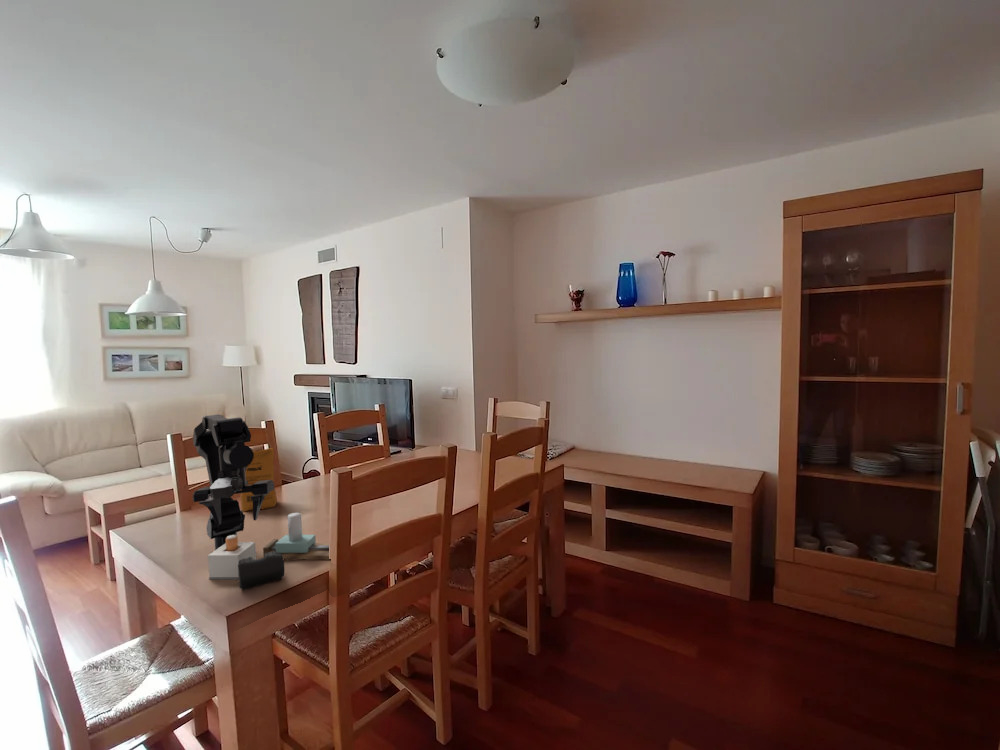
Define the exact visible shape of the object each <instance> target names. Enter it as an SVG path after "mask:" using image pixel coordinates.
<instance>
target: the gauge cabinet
mask: <svg viewBox="0 0 1000 750" xmlns="http://www.w3.org/2000/svg"><path fill="white" fill-rule="evenodd" d="M256 547H257V546H256V542H255V541H238V549H237V550H235V551H226V543H225V544H224V545H222V546H221V547H219V548H218V549H216V550H215V549H214V550H213V552H212V551H211V552H212V553H211V552H210V553H209V554H208V555H207V562H208V563H207V564H208V575H209V576H208V580H211V581H212V580H219V581H221V580H228V581H229V580H232V581H233V580H235V581H237V580H238V581H239V575H238V574H239V573H238V565H239V561H240V560H241V559H245V558H249V557H252V559H253V560H257V552H256V550H257V549H256Z"/></svg>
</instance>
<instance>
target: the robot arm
mask: <svg viewBox="0 0 1000 750" xmlns="http://www.w3.org/2000/svg"><path fill="white" fill-rule="evenodd" d="M251 439H252V433H251V432H250V429H249V426H248V424H246V421H245V420H243V418H242V417H231V418H227V417H225V416H224V415H222V414H212V415H210V414H209V415H205V416H203V417H202V420H201V422H200V423H199V424H198V425H196V427H195V428H194V429H193V435H192V442H193V446H194V447H195V448H196V452H197V454H198V455H199V456H200V457H201V458H203V459H204V460H205V465H206V470H207V474H208V476H207V477H208V481H209V486H203V487H201V488H198V489H196V490H194V492H193V494H192V503H196V502H197V503H198V504H199V505H203V506H205V507H206V508H207V509H208V511H209V512H210V513H209V517H208V520H207V523H206V535H207V536H208V537H209V539H210V540H214V550H213V551H215V550H216V549H218V548H219V547H221V546H222V545H224V544H225V543H226V537H227V536H230V535H237V536H238V533H239V532H244V529H245V518H246V514H244V511H242V509H241V508H240V507H241V506H240V504H239V503H240V502H239V501H238V500H237V499H234V498H232V497H233V496H234V495H235V494H240V493H247V492H251V493H252V494H254V495H253V496H252V497H251V499H252V501H253V510H252V518H253V521H257V520H258V516H259V514H260V511H261V510H260V508H261V505H262V502H263V500H264V498H265V496H266V495H267V494H269V493H270V491H272V490H274V489H275V481H274V482H273V481H272V480H264V481H258V482H256V483H254V484H252V485H247V484H248V480H246V476H245V470H246V469H247V466H248V465H249V464H250V463H251V462H252V461H253V458H254V453H253V451H254V450H253V449H252V448H251V447H250V446H248V445H245V443H250V442H251ZM246 485H247V486H246ZM275 490H276V489H275ZM213 551H211V552H210V554H211V553H212V552H213Z"/></svg>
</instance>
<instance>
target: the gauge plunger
mask: <svg viewBox="0 0 1000 750" xmlns="http://www.w3.org/2000/svg"><path fill="white" fill-rule="evenodd" d="M238 542H239V538H238V534H237V535H230V536H227V537H226V551H235V550H237V549H238Z"/></svg>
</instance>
